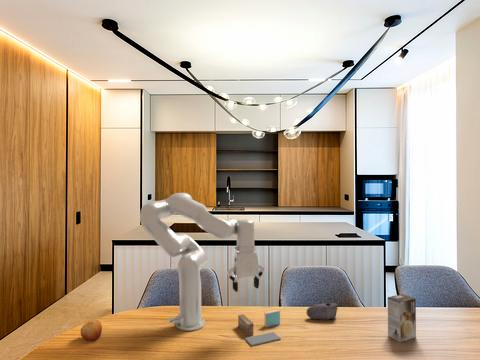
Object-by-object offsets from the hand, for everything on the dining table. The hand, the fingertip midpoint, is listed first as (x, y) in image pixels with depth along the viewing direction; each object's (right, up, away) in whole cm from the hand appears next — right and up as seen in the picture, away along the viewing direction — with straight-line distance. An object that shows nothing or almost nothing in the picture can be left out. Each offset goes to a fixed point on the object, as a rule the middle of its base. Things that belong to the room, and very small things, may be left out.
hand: (246, 289), depth 140 cm
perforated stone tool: (+36, -18, +12) cm, 42 cm away
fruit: (-63, -18, -7) cm, 66 cm away
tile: (+12, -18, +5) cm, 22 cm away
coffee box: (+64, -18, -6) cm, 66 cm away
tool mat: (+7, -18, -8) cm, 20 cm away
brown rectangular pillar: (0, -18, 0) cm, 18 cm away
